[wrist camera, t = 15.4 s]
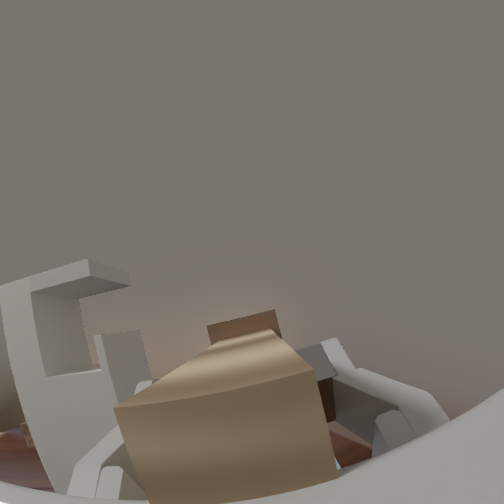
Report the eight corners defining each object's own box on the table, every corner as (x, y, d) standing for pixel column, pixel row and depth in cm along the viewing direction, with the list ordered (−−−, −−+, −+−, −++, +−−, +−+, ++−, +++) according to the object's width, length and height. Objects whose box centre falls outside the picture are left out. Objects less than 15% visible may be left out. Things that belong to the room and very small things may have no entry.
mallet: (376, 513, 4) (331, 289, 4) (148, 550, 3) (70, 348, 4) (285, 364, 21) (271, 310, 22) (229, 378, 21) (215, 324, 22)
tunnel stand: (200, 581, 18) (87, 258, 25) (105, 573, 18) (-2, 286, 24) (210, 536, 27) (128, 272, 34) (129, 535, 27) (48, 293, 34)
